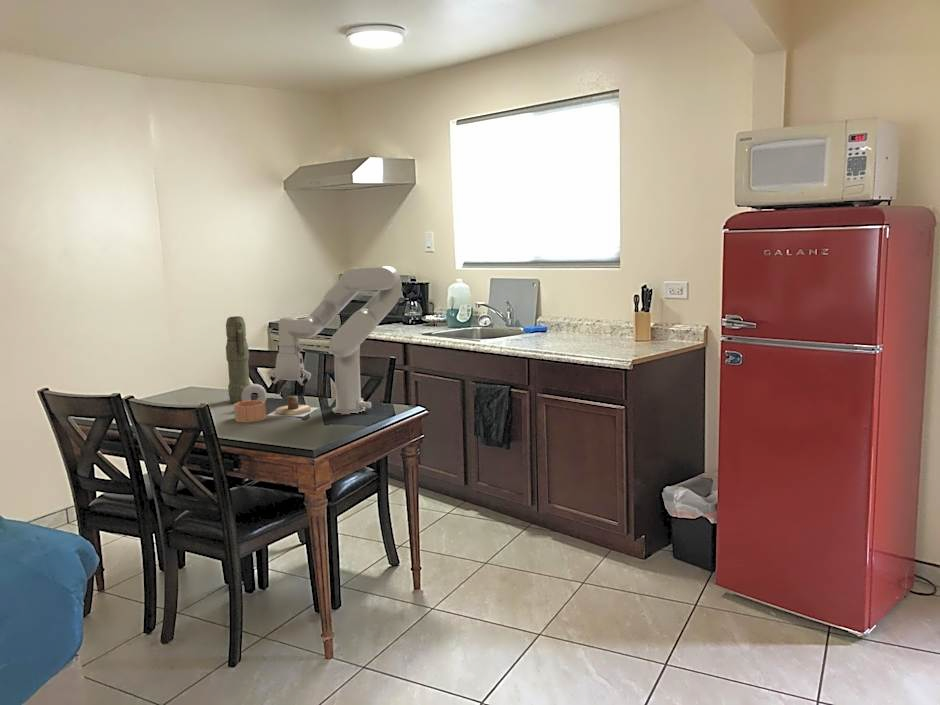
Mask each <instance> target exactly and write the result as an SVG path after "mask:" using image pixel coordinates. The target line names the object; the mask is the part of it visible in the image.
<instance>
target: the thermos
mask: <svg viewBox="0 0 940 705" xmlns="http://www.w3.org/2000/svg"><path fill="white" fill-rule="evenodd" d="M225 322H226V323H225V332H226V334H225V335H226V345H225V355H226V357H225V358H226V361H227V367H228V369H227V370H228V381H229V382H228V386H227V388H228V389H227V390H228V397H229V403H230V402H235V403H237V402H242V399H241V395H242V392H243V390H244V389H245V388H246V387H247V386H248V385H251V384H252V383H251V382H250V373H249V372H250V371H249V359H250V353H249V344H248V342H247V337H246V336H247V333H246V332H247V330H246V322H245V320H244V317H242V316H238V315H237V316H229V317H228V318H226V321H225ZM250 399H251V400H252V394H251V395H250ZM235 403H234V404H235Z"/></svg>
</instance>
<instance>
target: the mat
mask: <svg viewBox="0 0 940 705" xmlns="http://www.w3.org/2000/svg"><path fill="white" fill-rule="evenodd" d="M310 408H311V411H310V412H308V413H304V414H299V415H279V414H276V410H274V411H272V412H269V413H267V414H266V417H267V416H268V417H269V416H270V417H272V416H273V417H299V418H300V417H305V416H307V415H309V414H311V413H313V412H315V411H316V410H318V409H319V407H315V406H313V407H311V406H310ZM314 410H315V411H314Z"/></svg>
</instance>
